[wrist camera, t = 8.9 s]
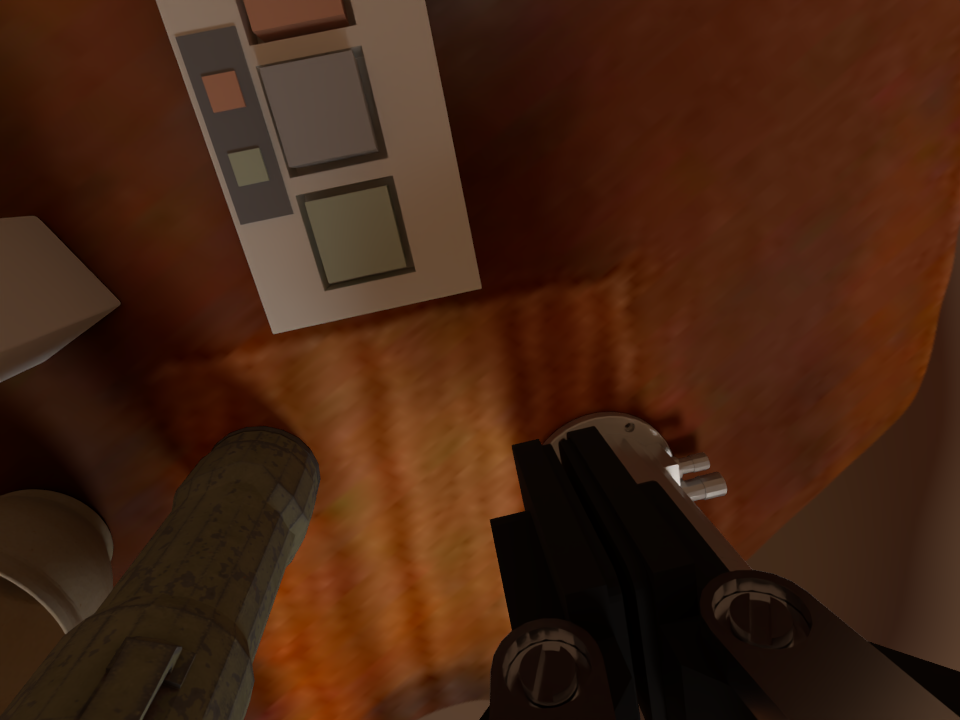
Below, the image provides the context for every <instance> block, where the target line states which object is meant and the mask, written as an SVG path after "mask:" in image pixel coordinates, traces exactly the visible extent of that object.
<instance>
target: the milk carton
mask: <svg viewBox="0 0 960 720" xmlns="http://www.w3.org/2000/svg"><path fill="white" fill-rule="evenodd" d="M120 304H121V303H120V301H119V300H118V299H117V298H116V297H115V296H114V295H113V294H112V293H111V292H110V291H109V290H108V289H107V287H106V286H105V285H104V284H103V283H102V282H101V281H100V280H99V279H98V278H97V277H96V276H95V275H94V274H93V273H92V272H91V271H90V270H89V269H88V268H87V267H86V266H85V265H84V264H83V263H82V262H81V261H80V260H79V259H78V258H77V257H76V256H75V255H74V254H73V253H72V252H71V251H70V250H69V249H68V248H67V247H66V245H65V244H64V243H63V242H62V241H61V240H60V239H59V238H58V237H57V236H56V235H55V234H54V233H53V232H52V231H51V230H50V229H49V228H48V227H47V226H46V225H45V224H44V223H43V222H42V221H41V220H40V219H39V218H38V217H36V216H23V217H10V218H0V382H2V381H4V380H6V379H8V378H11V377H13V376H15V375H17V374H19V373H21V372H23V371H25V370H28V369H30V368H32V367H34V366H36V365H38V364H40V363H42V362H44V361H46V360H47V359H49V358H50V357H51V356H53V355H54V354H55V353H57V352H58V351H59V350H61V349H62V348H63V347H65V346H66V345H67V344H69V343H70V342H71V341H73V340H74V339H75V338H77V337H78V336H79V335H81V334H82V333H83V332H85V331H86V330H87V329H89V328H90V327H91V326H93V325H94V324H95V323H97V322H98V321H99V320H101V319H102V318H104V317H105V316H106V315H108V314H109V313H110V312H112V311H113V310H114V309H116V308H117V307H118V306H120Z"/></svg>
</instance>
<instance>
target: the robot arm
mask: <svg viewBox="0 0 960 720" xmlns="http://www.w3.org/2000/svg"><path fill="white" fill-rule="evenodd" d="M626 424H627V425H626ZM562 438H563V439H562ZM561 439H562V440H561ZM512 450H513V455H514V460H515V465H516V470H517V475H518V479H519V484H520V489H521V494H522V498H523V503H524V508H525V511H523V512H519V513H515V514H511V515H507V516H502V517H498V518H494V519H490V523H491V528H492V533H493V538H494V543H495V548H496V553H497V558H498V563H499V568H500V573H501V578H502V583H503V588H504V593H505V598H506V603H507V608H508V613H509V618H510V622H511V627H512V631H511V632H510V633H509V634H508V635H507V636H506V637H505V638H504V639H503V640H502V641H501V643H500V645H499V646H498V648H497V650H496V652H495V654H494V656H493V661H492V667H491V677H490V706H489V707H488V709H487V710H486V711H485V713H484V714H483V715H482V717H481V718H480V720H640V713H639V706H640V709H641V711H642V713H643V716H644V718H645V720H960V672H959V671H956V670H953V669H950V668H947V667H944V666H941V665H938V664H935V663H932V662H929V661H925V660H923V659H919V658H916V657H914V656H911V655H907V654H904V653H902V652H898V651H895V650H892V649H889V648H886V647H883V646H880V645H877V644H874V643H871V642H868V641H867V640H865V639H864V638H863V637H862V636H860V635H859V634H858V633H857V632H855V631H854V630H853V629H852V628H851V627H850V626H848V625H847V624H846V623H845V622H843V621H842V620H841V619H840V618H839V617H837V616H836V615H835V614H834V613H833V612H831V611H830V610H829V609H828V608H826V607H825V606H824V605H823V604H822V603H820V602H819V601H818V600H817V599H816V598H814V597H813V596H812V595H811V594H810V593H808V592H807V591H806V590H804V589H803V588H801V587H799V586H798V585H797V584H795V583H793V582H792V581H790V580H787V579H785V578H783V577H780V576H778V575H775V574H772V573H767V572H762V571H757V570H752V569H751V568H750V567H749V565H748V564H747V563H746V562H745V561H744V560H743V558H742V557H741V556H740V555H739V554H738V553H737V551H736V550H735V549H734V548H733V547H732V546H731V545H730V543H729V542H728V541H727V540H726V539H725V538H724V536H723V535H722V534H721V533H720V532H719V531H718V529H717V528H716V527H715V526H714V525H713V524H712V523H711V521H710V520H709V519H708V518H707V517H706V516H705V514H704V513H703V512H702V511H701V510H700V509H699V508H698V506H697V505H696V504H695V503H694V502H693V501H696V500H700V499H704V500H706V499H710V498H714V497H719V496H723V495H725V494H726V493H727V487H726V483H725V480H724V478H723V477H722V475H721V474H720V473H718V472H714V473H710V474H705V475H701V476H697V477H695V478H693V479H689V480H685V481H683V479H682V475H683V474H685V473H690V472H697V471H702V470H706V469H709V467H710V463H709V459H708V457H707V455H706V454H705V453H703V452H701V453H697V454H693V455H688V456H687V457H684V458H679V459H677V458H676V457H675V456H673V455H672V452H671V450H670V448H669V446H668V444H667V442H666V441H665V440H664V438H663V437H662V436H661V435H660V434H659V432H657V431H656V430H655V429H654V428H653V427H652V426H651V425H650V424H649V423H647V422H645V421H643V420H642V419H640V418H638V417H635V416H632V415H629V414H626V413H619V412H598V413H594V414H589V415H585V416H582V417H580V418H577V419H575V420H573V421H570V422H569V423H567V424H566V425H564V426H562V427H561V428H559V429H558V430H557V431H555V432H554V433H553V434H552V435H551V436H550V437H549V438H548V439H547V440H546V441H545V442H544V444H543V445H541V443H540V441H539V439H536V440H532V441H528V442H523V443H519V444H515V445H512ZM638 704H639V706H638Z"/></svg>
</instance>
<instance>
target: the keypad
mask: <svg viewBox="0 0 960 720" xmlns="http://www.w3.org/2000/svg"><path fill="white" fill-rule="evenodd" d="M343 1H344V5H345V9H346V13H347V17H348V21H349V27H344V28H339V29H334V30H329V31H324V32H319V33H313V34H308V35H303V36H298V37H293V38H288V39H283V40H278V41H272V42H267V43H265V42H263V41H262V40H261V39H260V38H259V37H258V36H257V35H256V34H255V33H254V32H253V31H252V28H251V24H250V21H249V18H248V14H247V11H246V8H245V4H244V1H243V0H156V3H157V5H158V8H159V11H160V14H161V17H162V20H163V22H164V25H165V28H166V31H167V34H168V37H169V40H170V42H171V45H172V48H173V51H174V54H175V57H176V59H177V62H178V65H179V68H180V71H181V74H182V76H183V79H184V82H185V85H186V88H187V91H188V94H189V96H190V99H191V102H192V105H193V108H194V111H195V113H196V116H197V119H198V122H199V125H200V128H201V131H202V133H203V136H204V139H205V142H206V145H207V148H208V150H209V153H210V156H211V159H212V162H213V165H214V167H215V170H216V173H217V176H218V179H219V182H220V185H221V187H222V190H223V193H224V196H225V199H226V202H227V204H228V207H229V210H230V213H231V216H232V219H233V222H234V224H235V227H236V230H237V233H238V236H239V239H240V241H241V244H242V247H243V250H244V253H245V256H246V258H247V261H248V264H249V267H250V270H251V273H252V276H253V278H254V281H255V284H256V287H257V290H258V293H259V295H260V298H261V301H262V304H263V307H264V310H265V313H266V315H267V318H268V321H269V324H270V327H271V330H272V332H273V334H276V333H281V332H286V331H290V330H295V329H299V328H304V327H308V326H313V325H317V324H322V323H327V322H331V321H336V320H340V319H345V318H349V317H354V316H359V315H363V314H368V313H372V312H377V311H381V310H386V309H391V308H395V307H400V306H404V305H409V304H413V303H418V302H423V301H427V300H432V299H436V298H441V297H445V296H450V295H455V294H459V293H464V292H468V291H473V290H477V289H482V286H481V281H480V276H479V271H478V266H477V261H476V256H475V251H474V246H473V241H472V236H471V231H470V226H469V221H468V216H467V211H466V206H465V200H464V195H463V190H462V185H461V180H460V175H459V170H458V165H457V160H456V155H455V150H454V145H453V140H452V135H451V130H450V125H449V120H448V115H447V109H446V104H445V99H444V94H443V89H442V84H441V79H440V74H439V69H438V64H437V59H436V54H435V49H434V44H433V39H432V34H431V29H430V23H429V18H428V13H427V8H426V3H425V0H343ZM350 50H352V52H353V54H354V56H355V58H356V60H357V63H358V67H359V71H360V75H361V79H362V83H363V87H364V91H365V95H366V100H367V104H368V108H369V112H370V116H371V120H372V124H373V128H374V132H375V136H376V140H377V144H378V148H379V152H375V153H371V154H366V155H361V156H356V157H351V158H346V159H342V160H337V161H332V162H327V163H322V164H317V165H312V166H308V167H303V168H293V167H289V165H288V162H287V159H286V155H285V152H284V149H283V145H282V142H281V139H280V136H279V132H278V129H277V126H276V122H275V119H274V116H273V113H272V109H271V106H270V103H269V99H268V96H267V93H266V90H265V86H264V83H263V80H262V76H261V73H260V70H259V68H264V67H269V66H274V65H279V64H284V63H289V62H294V61H299V60H304V59H309V58H314V57H319V56H324V55H330V54H335V53H340V52H345V51H350ZM386 185H389V189H390V193H391V197H392V201H393V206H394V210H395V214H396V218H397V222H398V226H399V230H400V234H401V238H402V242H403V246H404V251H405V255H406V259H407V265H406V267H403V268H399V269H394V270H389V271H385V272H380V273H376V274H371V275H366V276H362V277H357V278H352V279H348V280H343V281H338V282H334V283H328V279H327V276H326V273H325V269H324V266H323V263H322V259H321V256H320V253H319V249H318V246H317V243H316V240H315V236H314V233H313V230H312V226H311V223H310V220H309V216H308V213H307V210H306V206H305V202H310V201H314V200H319V199H324V198H329V197H334V196H338V195H343V194H348V193H353V192H357V191H362V190H367V189H372V188H377V187H381V186H386Z"/></svg>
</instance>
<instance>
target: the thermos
mask: <svg viewBox="0 0 960 720" xmlns="http://www.w3.org/2000/svg"><path fill="white" fill-rule="evenodd" d="M319 482H320V473H319V465H318V462H317V461H316V459H315V457H314V455H313V453H312V451H311V450H310V449H309V448H308V447H307V446H306V445H305V444H304V443H303V442H302V441H301V440H300V439H299V438H297V437H295V436H293V435H291V434H290V433H288V432H286V431H284V430H280V429H276V428H271V427H266V426H259V427H246V428H243V429H240V430H237V431H235V432H232V433H229V434H228V435H227V436H226V437H224V438H223V439H222V440H220V441H219V442H218V443H217V444H216V445H215V446H214V447H213V449H212V451H211V452H210V453H209V454H208V455H206V456H205V457H204V458H202V459H201V460H200V461H199V463H198V464H197V465H196V467H195V468H194V469H193V470H192V472H191V473H190V474H189V475H188V477H187V478H186V479H185V480H184V482H183V483H182V484H181V485H180V487H179V488H178V489H177V491H176V493H175V496H174V501H173V507H172V512H171V513H170V514H169V516H168V517H167V518H166V520H165V521H164V522H163V524H162V525H161V526H160V528H159V529H158V530H157V532H156V533H155V534H154V535H153V537H152V538H151V539H150V541H149V542H148V543H147V545H146V546H145V547H144V549H143V550H142V551H141V553H140V554H139V555H138V557H137V558H136V559H135V561H134V562H133V563H132V565H131V566H130V567H129V569H128V570H127V571H126V572H125V574H124V575H123V576H122V578H121V579H120V580H119V582H118V583H117V584H116V586H115V587H114V588H113V590H112V591H111V592H110V594H109V595H108V596H107V598H106V599H105V600H104V602H103V603H102V604H101V605H100V607H99V608H98V609H97V611H96V612H95V613H94V614H93V615H91V616H89V617H88V618H86V619H85V620H83V621H82V622H81V623H79V624H78V625H77V626H76V627H74V628H73V629H72V630H70V631H69V632H68V633H66V634H65V635H64V636H63V637H62V638H61V640H60V641H59V642H58V643H57V645H56V646H55V647H54V648H53V650H52V651H51V652H50V653H49V655H48V656H47V657H46V659H45V660H44V661H43V662H42V664H41V665H40V666H39V667H38V669H37V670H36V671H35V672H34V674H33V675H32V676H31V678H30V679H29V680H28V681H27V683H26V684H25V685H24V686H23V688H22V689H21V690H20V691H19V693H18V694H17V695H16V697H15V698H14V699H13V700H12V702H11V703H10V704H9V705H8V707H7V708H6V709H5V711H4V712H3V713H2V714H1V716H0V720H244V717H245V714H246V711H247V708H248V705H249V702H250V698H251V693H252V689H253V685H254V674H253V668H252V663H253V660H254V657H255V654H256V652H257V649H258V646H259V643H260V640H261V637H262V634H263V631H264V629H265V626H266V623H267V620H268V617H269V614H270V611H271V609H272V606H273V603H274V600H275V597H276V594H277V591H278V588H279V586H280V583H281V580H282V577H283V574H284V571H285V568H286V567H287V566H288V565H289V564H290V563H291V562H292V560H293V558H294V556H295V554H296V552H297V551H298V549H299V547H300V545H301V543H302V541H303V540H304V538H305V535H306V532H307V529H308V525H309V522H310V519H311V516H312V513H313V509H314V505H315V501H316V494H317V491H318V487H319Z"/></svg>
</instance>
